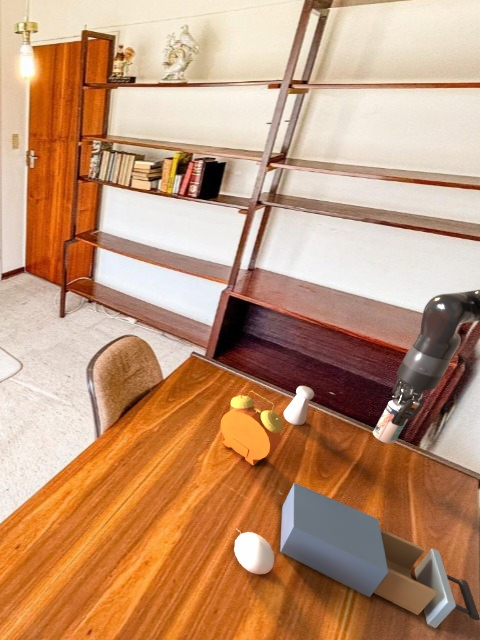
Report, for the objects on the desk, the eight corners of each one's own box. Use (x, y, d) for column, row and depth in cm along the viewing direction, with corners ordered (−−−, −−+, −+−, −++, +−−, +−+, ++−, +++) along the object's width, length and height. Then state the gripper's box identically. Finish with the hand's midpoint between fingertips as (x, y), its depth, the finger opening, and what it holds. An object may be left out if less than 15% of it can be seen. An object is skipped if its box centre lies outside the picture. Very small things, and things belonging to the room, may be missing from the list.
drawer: (451, 587, 81) (471, 565, 78) (469, 646, 72) (493, 623, 69) (337, 534, 90) (351, 512, 87) (341, 581, 81) (356, 558, 78)
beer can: (373, 428, 111) (391, 395, 106) (395, 438, 108) (414, 404, 103) (370, 437, 108) (388, 404, 103) (393, 448, 105) (413, 413, 100)
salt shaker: (286, 427, 121) (300, 394, 115) (278, 413, 126) (291, 381, 120) (306, 430, 120) (322, 397, 114) (298, 416, 125) (312, 384, 119)
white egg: (276, 579, 82) (288, 558, 79) (244, 584, 81) (254, 563, 78) (246, 531, 91) (255, 511, 88) (216, 535, 90) (224, 514, 87)
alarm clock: (270, 463, 108) (295, 408, 100) (259, 473, 105) (283, 417, 97) (225, 431, 118) (244, 378, 110) (213, 440, 115) (231, 386, 106)
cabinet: (360, 546, 89) (378, 519, 85) (367, 600, 79) (388, 572, 75) (281, 509, 96) (294, 482, 92) (278, 554, 87) (293, 526, 82)
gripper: (452, 387, 90) (418, 441, 98) (436, 357, 101) (407, 408, 109) (409, 375, 94) (380, 428, 101) (398, 347, 105) (372, 397, 112)
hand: (394, 417), depth 105 cm, fingers closed on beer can, 4 cm apart
